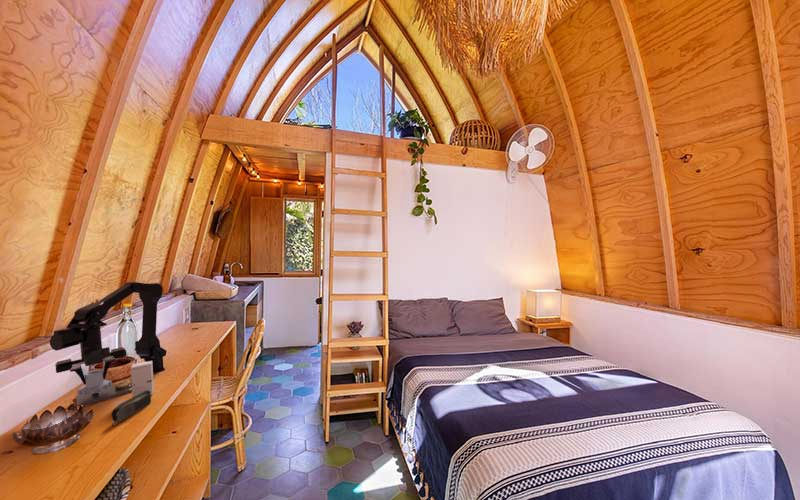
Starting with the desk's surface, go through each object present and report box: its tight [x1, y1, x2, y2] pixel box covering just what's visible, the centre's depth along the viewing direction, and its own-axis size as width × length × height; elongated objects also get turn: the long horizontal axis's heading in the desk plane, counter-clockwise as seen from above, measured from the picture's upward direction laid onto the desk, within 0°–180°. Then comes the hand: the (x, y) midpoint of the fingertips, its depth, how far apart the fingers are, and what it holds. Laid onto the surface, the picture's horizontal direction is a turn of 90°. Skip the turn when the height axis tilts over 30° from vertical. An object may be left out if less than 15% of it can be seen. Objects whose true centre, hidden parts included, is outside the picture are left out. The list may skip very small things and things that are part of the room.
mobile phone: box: [111, 390, 152, 427], centre depth 105 cm, size 5×3×15 cm
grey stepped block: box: [77, 369, 113, 395], centre depth 117 cm, size 9×9×6 cm
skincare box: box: [130, 361, 155, 398], centre depth 117 cm, size 6×4×12 cm
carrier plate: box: [75, 378, 132, 408], centre depth 121 cm, size 18×12×4 cm, turn 139°
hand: (94, 381), depth 118 cm, fingers closed on grey stepped block, 5 cm apart
